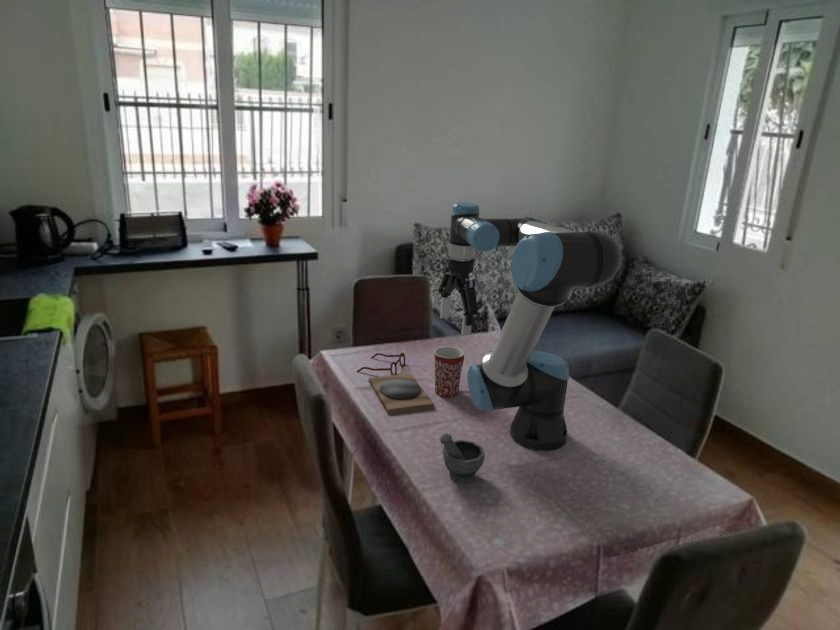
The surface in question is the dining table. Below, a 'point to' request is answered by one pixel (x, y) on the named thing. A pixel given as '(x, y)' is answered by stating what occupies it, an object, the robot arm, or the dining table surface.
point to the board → (400, 393)
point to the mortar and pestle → (462, 458)
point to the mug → (448, 370)
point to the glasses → (391, 363)
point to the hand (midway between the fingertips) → (455, 325)
